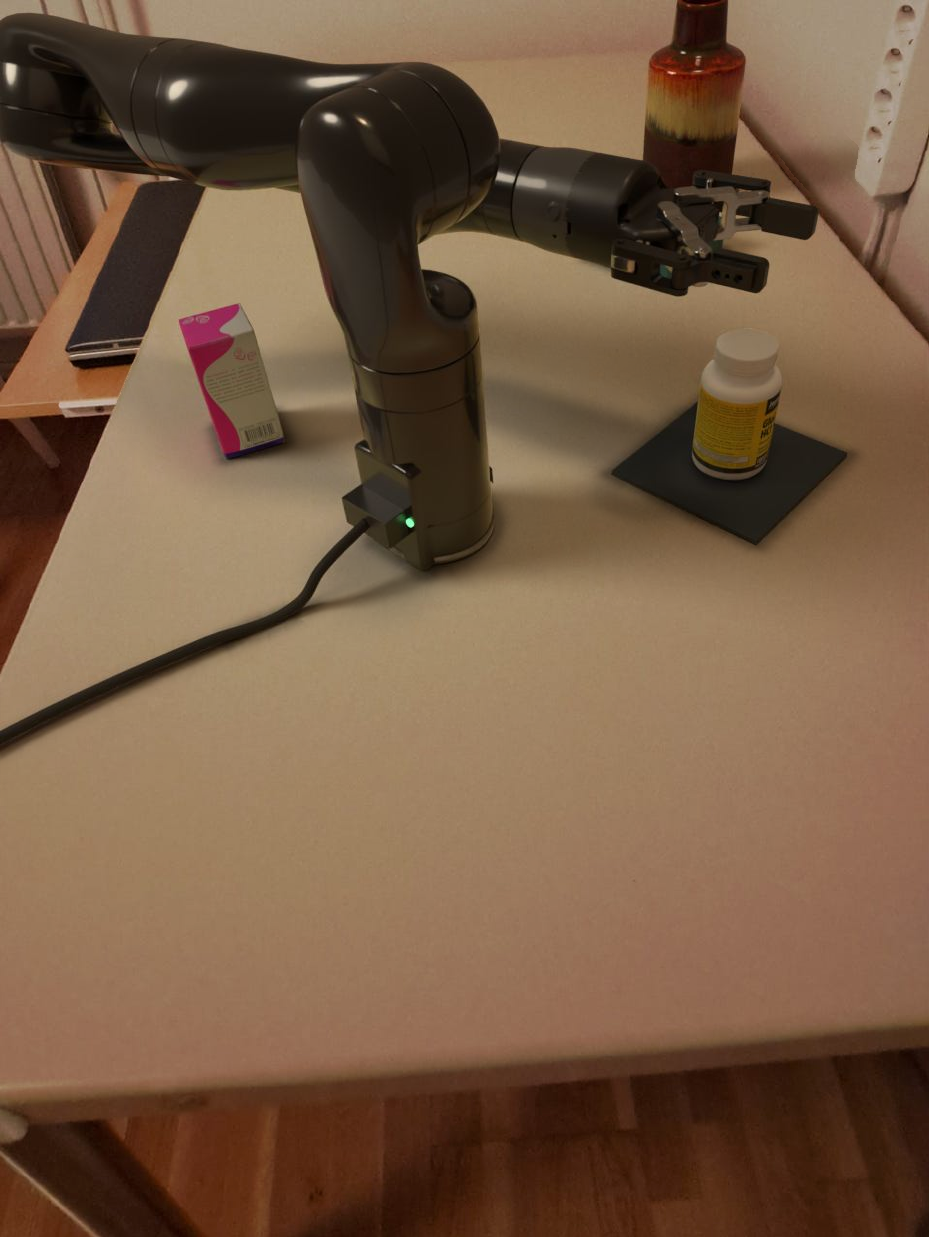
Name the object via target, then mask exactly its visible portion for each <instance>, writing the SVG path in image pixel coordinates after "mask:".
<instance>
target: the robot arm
mask: <svg viewBox="0 0 929 1237" xmlns="http://www.w3.org/2000/svg"><path fill="white" fill-rule="evenodd" d="M113 125H114V127H115V129H116V130H117V132H118V133H115V132H114V131H113V130H114V129H113ZM0 142H1V144H2V145H3V146H4V148H6V149H7V150H8V151H10V152H12V153H13V154H15V155H18V156H20V157H22V158H25V159H28V160H32V161H35V162H40V163H42V164H49V165H54V166H60V167H66V168H73V169H81V170H82V169H83V170H91V171H101V172H111V173H123V174H133V175H143V176H144V175H145V176H154V177H155V176H157V177H170V178H173V179H176V180H180V181H184V182H187V183H190V184H195V185H196V186H197V185H198V186H201V187H204V188H209V189H214V190H220V191H237V192H241V191H257V190H266V189H267V190H268V189H276V190H282V191H285V192H292V193H297V194H300V196H301V201H302V205H303V209H304V214H305V217H306V222H307V225H308V229H309V232H310V236H311V240H312V243H313V248H314V252H315V255H316V259H317V263H318V268H319V271H320V275H321V280H322V285H323V288H324V291H325V294H326V297H327V300H328V303H329V306H330V308H331V310H332V312H333V314H334V316H335V318H336V320H337V322H338V324H339V327H340V329H341V331H342V334H343V337H344V342H345V349H346V352H347V357H348V361H349V367H350V372H351V377H352V382H353V388H354V395H355V399H356V403H357V405H356V406H357V411H358V415H359V421H360V426H361V431H362V437H363V438H362V439H361V440H360V441H358V442H356V443H355V445H354V454H355V458H356V464H357V468H358V474H359V478H360V484H359V485H358V486H356V487H355V488H353V489H352V490H350V491H349V492H347V493H346V494H344V495H343V496H341V502H342V507H343V511H344V515H345V520H346V523H347V524H349V525H350V526H352V528H351V529H350V530H349V531H348V532H347V533H345V535H343V537H342V538H341V539H339V540H338V541H337V542H336V543H335V544H334V545H333V547H332V548H330V550H328V551H327V553H326V554H325V555H324V556H323V557H322V558H321V559H320V560H319V562H318V563H317V564H316V566H314V568H313V570H312V571H311V572H310V575H309V577H308V578H307V580H306V582H305V584H304V586H303V589H302V590H301V592H299V594H298V595H297V596H296V597H295V598H294V599H292V600H291V601H290V602H288V603H287V604H286V605H284V606H282V607H281V608H279V609H278V610H276V611H274V612H272V613H271V614H268V615H266V616H263V617H260V618H258V619H255V620H252V621H249V622H246V623H243V624H240V625H237V626H233V627H230V628H226V629H223V630H220V631H217V632H213V633H211V634H208V635H206V636H203V637H200V638H198V639H196V640H193V641H191V642H189V643H186V644H184V645H182V646H179V647H177V648H174V649H172V650H169V651H168V652H165V653H163V654H160V655H158V656H156V657H153V658H151V659H149V660H147V661H144V662H141V663H138V664H137V665H135V666H133V667H130V668H128V669H126V670H124V671H121V672H119V673H117V674H114V675H112V676H110V677H107V678H106V679H103V680H101V681H99V682H97V683H94V684H92V685H90V686H89V687H86V688H84V689H81V690H80V691H78V692H76V693H74V694H71V695H69V696H67V697H65V698H63V699H61V700H59V701H57V702H55V703H52V704H50V705H49V706H46V707H44V708H42V709H40V710H38V711H35V712H34V713H32V714H30V715H28V716H26V717H24V718H22V719H20V720H18V721H16V722H14V723H13V724H10V725H9V726H6V727H5V728H2V729H1V730H0V746H1V745H4V744H5V743H7V742H9V741H11V740H12V739H15V738H17V737H18V736H20V735H22V734H24V733H27V732H28V731H31V730H32V729H34V728H36V727H38V726H40V725H42V724H43V723H46V722H48V721H51V720H52V719H54V718H55V717H58V716H60V715H62V714H64V713H67V712H69V711H70V710H73V709H74V708H77V707H79V706H81V705H83V704H85V703H88V702H89V701H92V700H93V699H96V698H98V697H101V696H102V695H104V694H106V693H108V692H110V691H113V690H115V689H118V688H120V687H121V686H124V685H126V684H128V683H131V682H133V681H135V680H137V679H139V678H142V677H144V676H147V675H149V674H151V673H154V672H156V671H158V670H160V669H162V668H165V667H167V666H170V665H171V664H175V663H176V662H179V661H181V660H184V659H186V658H188V657H191V656H193V655H195V654H197V653H200V652H202V651H204V650H207V649H210V648H212V647H215V646H218V645H220V644H223V643H227V642H230V641H233V640H236V639H240V638H242V637H247V636H250V635H253V634H255V633H258V632H261V631H264V630H265V629H266V630H267V629H268V628H271V627H273V626H275V625H277V624H280V623H282V622H283V621H285V620H287V619H288V618H290V617H292V616H293V615H294V614H296V613H297V612H299V611H300V610H301V609H303V608H304V607H305V606H306V605H307V604H308V603H309V601H310V600H311V599H312V597H313V595H314V594H315V592H316V590H317V588H318V586H319V584H320V582H321V580H322V578H323V577H324V576H325V574H326V573H327V572H328V570H329V569H330V568H331V567H332V566H333V565H334V563H336V561H337V560H339V558H341V557H342V555H343V554H344V553H345V552H346V551H347V550H348V549H349V548H350V547H351V546H352V545H354V543H355V542H357V541H358V540H359V538H361V536H363V535H364V534H365V535H366V536H368V537H370V538H371V539H372V540H373V541H374V542H376V543H378V544H379V545H381V546H382V547H384V548H386V549H387V550H389V551H390V552H391V553H392V554H394V555H395V556H397V557H398V558H401V559H403V560H405V561H406V562H408V563H409V564H411V565H412V566H414V567H415V568H417V569H419V570H420V571H423V572H424V571H427V570H428V569H430V568H431V567H433V566H435V565H439V564H440V565H441V564H446V563H451V562H455V561H458V560H461V559H463V558H467V557H469V556H470V555H472V554H474V553H476V552H477V551H479V550H480V549H481V548H482V547H483V546H484V545H485V544H486V543H487V542H488V541H489V539H490V538H491V536H492V534H493V532H494V528H495V524H496V523H495V521H496V520H495V519H496V518H495V510H494V507H493V497H492V484H494V474H493V468H492V467H491V466H490V458H489V457H490V455H489V443H488V441H489V440H488V429H487V417H486V416H487V415H486V402H485V388H484V373H483V359H482V348H481V347H482V345H481V332H480V319H479V308H478V302H477V299H476V296H475V294H474V292H473V290H472V288H470V286H468V284H466V283H465V282H464V281H463V280H461V279H460V278H458V277H456V276H454V275H451V274H448V273H445V272H442V271H438V270H433V269H425V268H422V264H421V260H420V259H421V258H420V253H419V245H420V244H423V243H424V242H425V241H427V240H429V239H431V238H433V237H434V236H438V235H445V234H453V233H454V234H455V233H476V234H477V233H478V234H486V235H493V236H497V237H500V238H505V239H510V240H514V241H517V242H522V243H526V244H527V245H528V244H529V245H531V246H534V247H535V248H539V249H541V250H543V251H546V252H549V253H551V254H557V255H561V256H564V257H569V258H572V259H576V260H580V261H584V262H585V261H586V262H588V263H589V262H590V263H594V264H598V265H601V266H604V265H605V266H604V267H607V266H610V267H611V268H610V267H609V268H610V277H611V279H614V280H618V281H621V282H624V283H628V284H632V285H635V286H639V287H642V288H644V289H648V290H653V291H656V292H659V293H663V294H665V295H670V296H673V297H678V298H680V297H685V296H687V295H688V294H689V288H690V287H696V288H702V287H706V286H707V285H708V284H714V285H718V286H722V287H727V288H731V289H734V290H735V289H736V290H739V291H744V292H749V293H752V294H759V293H761V292H762V291H763V290H764V289H765V287H766V286H767V283H768V278H769V273H770V272H769V271H770V261H769V260H768V259H767V258H766V257H764V256H760V255H759V256H758V255H754V254H749V253H745V252H741V251H737V250H731V249H726V248H723V247H722V248H717V249H716V250H715V251H714V252H713V253H711V252H712V248H711V247H710V246H709V245H708V243H710V242H712V241H716V240H723V241H725V240H730V239H732V238H733V237H734V236H735V234H736V233H740V232H751V231H752V232H753V231H760V232H761V233H767V234H773V235H777V236H782V237H787V238H792V239H797V240H801V241H807V240H809V239H811V237H812V236H813V235H815V233H816V229H817V225H818V219H819V214H820V211H819V209H818V207H817V206H815V205H811V204H807V203H801V202H796V201H790V200H785V199H780V198H775V197H771V196H770V195H771V189H772V181H771V180H769V179H766V178H765V179H764V178H760V177H759V178H758V177H752V176H745V175H739V174H733V173H732V174H726V173H720V172H713V171H707V170H698V171H695V172H694V175H693V185H692V186H690V187H680V188H668V187H666V185H665V184H664V183H663V181H662V179H661V177H660V174H659V171H658V170H657V168H656V167H655V166H654V165H653V164H652V163H650V162H648V161H643V159H637V158H632V157H626V156H621V155H620V156H619V155H615V154H609V153H604V152H597V151H592V150H587V149H581V148H576V147H565V146H544V145H540V144H535V143H529V142H522V141H517V140H512V139H505V138H500V135H499V130H498V129H497V126H496V124H495V120H494V118H493V116H492V114H491V112H490V110H489V108H488V107H487V106H486V103H485V102H484V101H483V99H482V98H481V97H480V96H479V94H478V93H477V92H476V91H475V89H473V88H472V87H471V86H470V84H468V83H467V82H466V81H464V80H463V79H462V78H461V77H459V76H458V75H457V74H455V73H454V72H452V71H450V70H448V69H446V68H444V67H442V66H440V65H436V64H433V63H428V62H423V61H403V62H402V61H400V62H382V63H381V62H380V63H379V62H378V63H329V62H328V63H327V62H318V61H312V60H306V59H301V58H298V57H297V58H296V57H293V56H287V55H282V54H276V53H271V52H265V51H258V50H252V49H245V48H239V47H234V46H229V45H225V44H221V43H216V42H209V41H203V40H195V39H189V38H178V37H166V36H165V37H164V36H152V35H151V36H150V35H141V34H133V33H132V34H131V33H125V32H119V31H115V30H111V29H108V28H104V27H99V26H96V25H93V24H88V23H84V22H81V21H78V20H73V19H69V18H67V17H62V16H58V15H51V14H46V13H40V12H39V13H38V12H17V13H13V14H8V15H6V16H4V17H2V19H1V18H0ZM740 190H742V191H740ZM743 190H744V191H743ZM720 213H721V217H722V218H721V222H720V223H719V225H718V221H719V216H720ZM737 216H740V217H738V218H737ZM660 264H661V265H664V266H665V267H666V268H667V269H668V270H669V271H670V272H671V273H672V277H671V278H667V277H663V276H662V275H661V274H660Z"/></svg>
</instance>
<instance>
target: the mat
mask: <svg viewBox="0 0 929 1237" xmlns="http://www.w3.org/2000/svg"><path fill="white" fill-rule="evenodd" d="M697 408H698V401H696V402H694V404H693V405H691V406H690V407H689V408H688V409H686V410H685V411H684V412H683V413H682V414H680V415H679V416H678V417H677V418H675V419H674V420H673V421H672V422H670V423H669V424H668V425H667V426H665V427H664V428H663V429H662V430H660V431H659V432H658V433H657V434H656V435H654V436H653V437H652V438H650V439H649V440H648V441H647V442H645V444H643V445H642V446H640V447H639V448H638V449H636V451H634V452H633V453H632V454H631V455H629V456H628V457H626V459H625V460H623V461H622V462H621V463H620V464H618V465H617V466H615V468H613V469H612V470H611V473H610V474H611V475H612V476H614V477H616V478H618V479H620V480H622V481H624V482H626V483H628V484H631V485H632V486H634V487H636V488H638V489H640V490H642V491H645V492H646V493H649V494H651V495H652V496H655V497H657V498H659V499H661V500H663V501H665V502H668V503H669V504H672V505H674V506H675V507H678V508H680V509H682V510H684V511H686V512H688V513H689V514H692V515H694V516H696V517H698V518H701V519H703V520H704V521H706V522H709V523H711V524H713V525H714V526H717V527H719V528H721V529H723V530H725V531H727V532H729V533H731V534H733V535H735V536H738V537H740V538H742V539H744V540H746V541H748V542H750V543H751V544H754V545H757V544H759V543H760V542H761V541H762V540H763V539H764V538H765V536H767V534H769V533H770V532H771V531H772V530H773V529H774V528H775V527H776V526H777V525H778V524H779V523H780V522H781V521H782V520H783V519H784V518H785V517H786V516H787V515H788V514H789V513H790V512H791V511H792V510H793V509H795V508H796V506H798V505H799V503H800V502H802V501H803V499H804V498H806V497H807V496H808V495H809V494H810V493H811V492H812V491H813V490H814V488H816V487H817V486H818V485H819V484H820V483H821V482H822V481H823V480H824V479H825V478H826V477H827V476H828V475H829V474H830V473H831V472H832V471H833V470H834V469H836V467H837V466H838V465H840V464H841V463H842V462H843V461H844V460H845V459H846V458H847V457H848V452H847V451H844V450H842V449H840V448H837V447H835V446H833V445H830V444H827V443H824V442H823V441H820V440H818V439H815V438H813V437H811V436H808V435H805V434H803V433H800V432H798V431H795V430H792V429H791V428H788V427H785V426H783V425H781V424H778V423H776V422H774V428H773V433H772V438H771V443H770V448H769V453H768V458H767V462H766V464H765V466H764V467H763V469H762V470H761V471H760V472H759V473H757V474H756V475H754V476H752V477H750V478H747V479H742V480H723V479H718V478H714V477H712V476H709V475H707V474H705V473H704V472H702V471H701V470H700V469H698V468H697V466H696V465H695V463H694V461H693V458H692V448H693V439H694V431H695V423H696V416H697Z"/></svg>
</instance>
